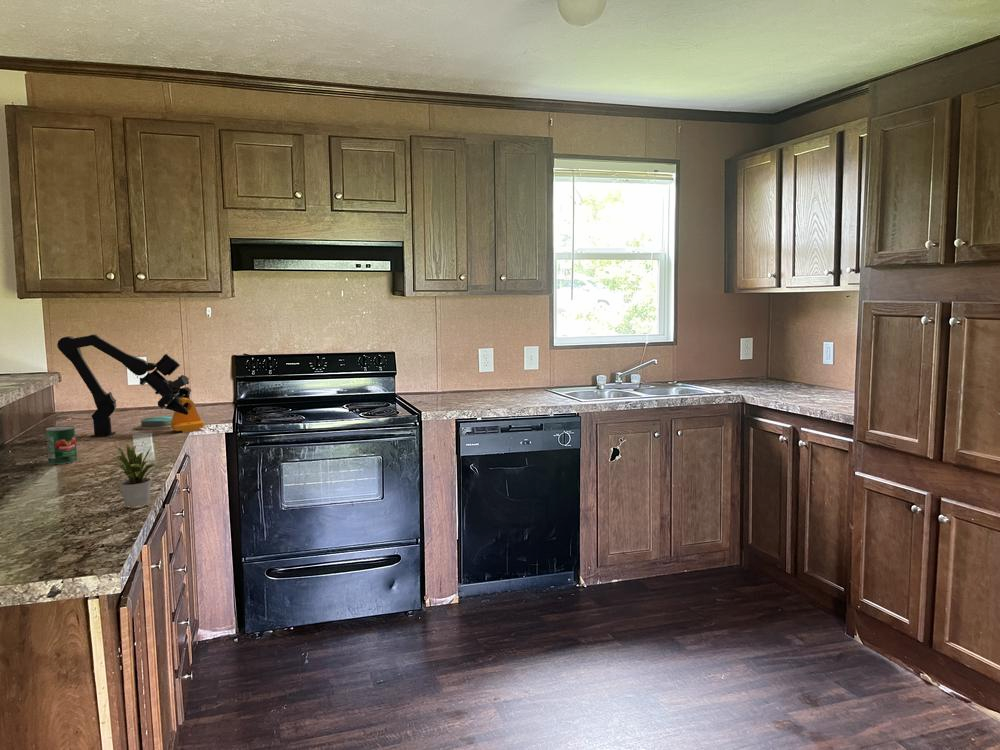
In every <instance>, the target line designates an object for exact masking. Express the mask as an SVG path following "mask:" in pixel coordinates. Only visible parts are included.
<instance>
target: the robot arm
mask: <svg viewBox="0 0 1000 750" xmlns="http://www.w3.org/2000/svg"><path fill="white" fill-rule="evenodd" d="M56 345H57V349H58V350H59V351H60V352H61V354H63V356H64V357H65V358H66V359H68V360H69V361H70V362H71V363H72V365H73V367H74V368H75V370H76V371H77V373H78V374H79V376H80V377H81V379H82V381H83V382H84V384H85V385H86V387H87V389H88V390H89V391H90V393H91V395H92V398H93V401H94V404H95V407H96V410H95V411H94V412H93V414H91V419H92V420H93V421H92V422H93V433H92V434H90V437H109V436H111V435H114V434H116V433H117V432H116V431H113V429H112V420H111V415H112V414H113V413H114V412H115V410H116V409H117V403H116V402H117V399H116V398H115V397H114V396H113V393H112V392H111V391H108V393H107V392H106V390H104V389H103V387H102V385H101V384H100V382H99V381H98V379H97V378H96V376H95V375H94V373H93V372H92V371H93V370H91V368H90V367H89V364H87V362H86V360H85V359H84V357H83V354H82V351H81V348H84V347H85V348H86V347H90V346H92V347H94V348H96V349H97V350H99V351H101V352H102V353H103V354H106V355H107V356H109V357H111V358H113V359H115V360H116V361H118V362H120V363H121V364H122V365H123V366H124V367H126V369H128V370H129V371H130V372H131V373H132V374H134V375H135V376H143V377H140V378H139V385H141V386H144V385H146V384H147V385H148V386H150V387H151V388H152V390H154V391H155V392H154V393H155V394H156V395H159V396H161V398H159V400H158V401H157V406H158V407H159V408H160V409H161V410H163V409H165V410H168V411H173V412H174V411H176V412H179V413H182V414H185V415H187V414H188V411H187V410H186V409H185V408H187V407H188V402H187V403H185V404H184V405H182V404H181V403H180V402H179V400H180V399H181V398H188V399H190V400H191V398H190V395H191V392H192V389H190V388H189V387H188V386H187V385H189V384H190V382H189V377H187V375H184V374H181V375H180V376H178V377H177V378H176V379H175V380H173V381H172V380H170V379H169V380H168V379H167V378H165V377H166V376H167V375H168V376H169V377H170V376H171V375H172V374H173V373H174V372H175V371H176V370H177V369H178V368H179V367H180V366H181V365H180V364H179V362H178V361H177V360H175V358H173V357H172V356H170V355H168V353H164V355H163V356H162V358H160V359H159V360H158V361H157V362H156V363H155V362H148V361H146V360H144V359H143V358H140V357H137V356H134V355H132V354H130V353H129V354H128V353H127V352H125V351H123V350H122V349H120V348H119V347H117V346H115V345H113V344H111V343H110V342H108V341H106V340H105V339H103V338H101V337H100V336H98V335H97V334H90V335H85V336H79V337H73V336H70V335H69V336H68V335H67V336H64V337H61V338H60V339H59V340H58V341H57V344H56ZM145 374H146V375H145ZM185 385H186V386H185ZM184 386H185V387H184ZM181 387H182V388H181ZM195 409H196V407H195ZM196 410H197V409H196Z"/></svg>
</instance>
